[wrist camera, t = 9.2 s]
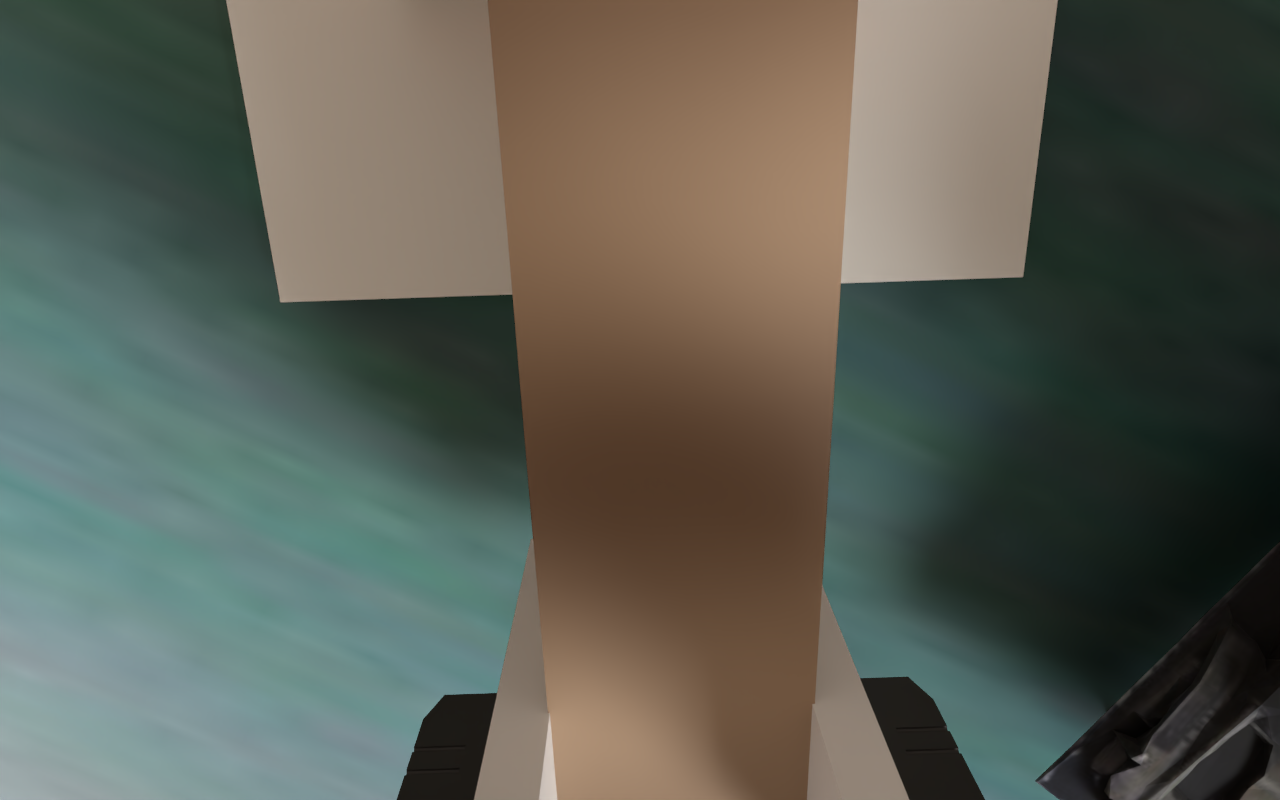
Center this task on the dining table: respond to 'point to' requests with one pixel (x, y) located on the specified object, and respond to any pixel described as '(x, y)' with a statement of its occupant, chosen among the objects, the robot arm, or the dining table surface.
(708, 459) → the tan long block
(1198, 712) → the vintage camera
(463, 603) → the dining table surface
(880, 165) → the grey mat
